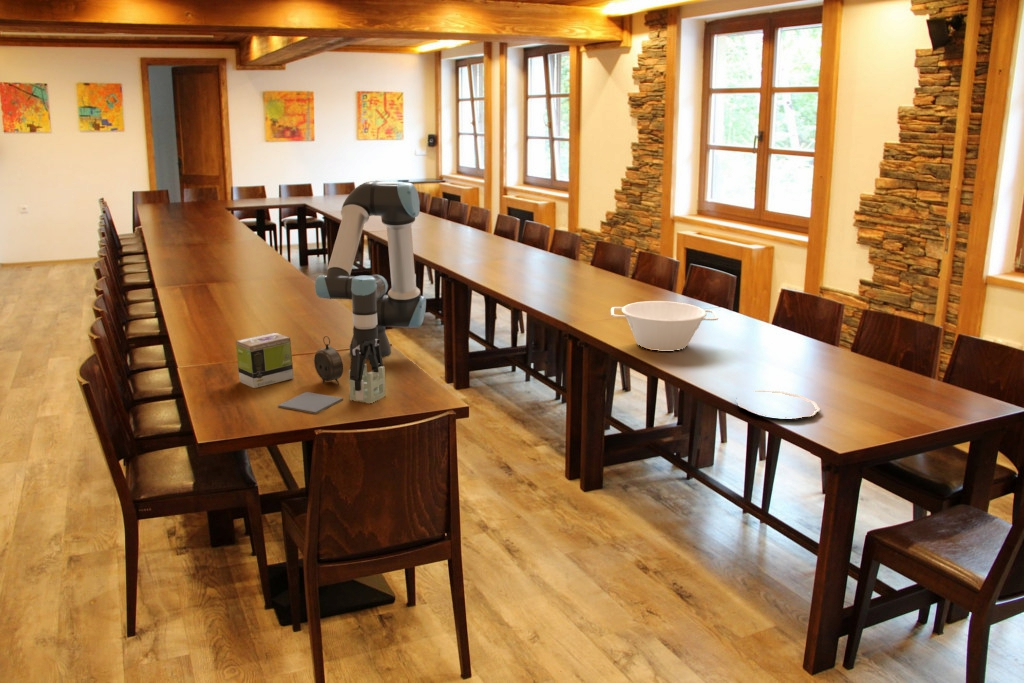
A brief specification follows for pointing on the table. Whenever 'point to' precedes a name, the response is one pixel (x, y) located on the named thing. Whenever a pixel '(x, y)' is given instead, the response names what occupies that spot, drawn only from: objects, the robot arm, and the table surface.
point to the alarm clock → (328, 363)
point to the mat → (310, 402)
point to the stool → (370, 385)
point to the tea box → (264, 359)
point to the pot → (663, 323)
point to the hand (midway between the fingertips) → (367, 395)
